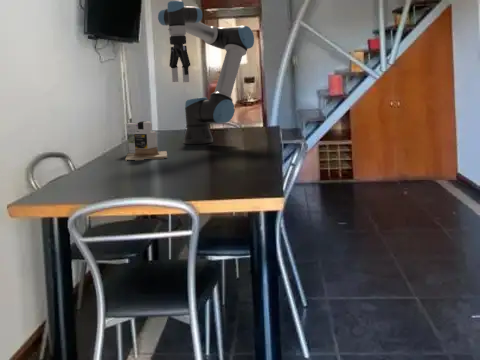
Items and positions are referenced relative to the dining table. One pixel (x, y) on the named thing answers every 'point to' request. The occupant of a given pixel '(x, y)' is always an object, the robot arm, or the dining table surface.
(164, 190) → the dining table surface
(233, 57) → the robot arm
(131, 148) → the syrup box
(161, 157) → the base board
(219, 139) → the dining table surface
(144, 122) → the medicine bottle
